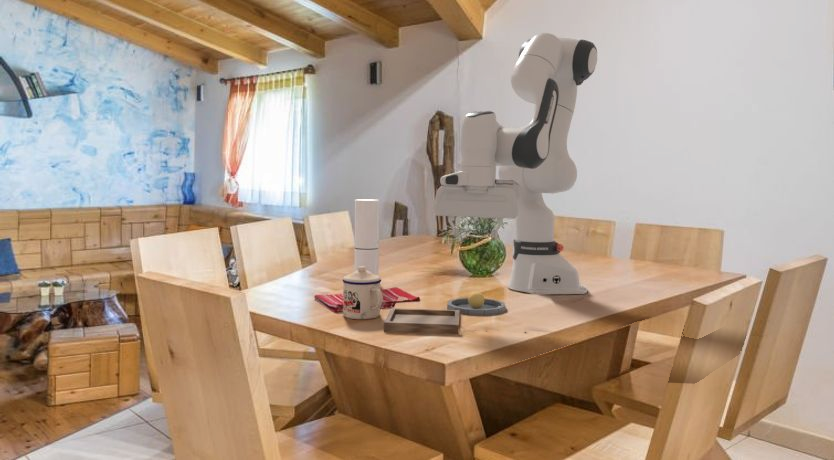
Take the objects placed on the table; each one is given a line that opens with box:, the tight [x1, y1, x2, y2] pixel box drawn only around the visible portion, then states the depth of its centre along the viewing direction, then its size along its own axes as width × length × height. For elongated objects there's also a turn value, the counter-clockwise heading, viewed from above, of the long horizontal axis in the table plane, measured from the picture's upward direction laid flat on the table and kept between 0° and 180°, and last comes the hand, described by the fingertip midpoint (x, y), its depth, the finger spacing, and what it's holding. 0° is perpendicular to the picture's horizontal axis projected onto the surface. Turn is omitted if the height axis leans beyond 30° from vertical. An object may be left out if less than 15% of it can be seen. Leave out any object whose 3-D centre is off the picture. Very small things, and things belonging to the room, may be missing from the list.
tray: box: [383, 307, 460, 335], centre depth 147 cm, size 16×14×2 cm
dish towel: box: [313, 286, 421, 313], centre depth 170 cm, size 17×24×3 cm
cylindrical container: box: [353, 198, 380, 276], centre depth 193 cm, size 7×7×25 cm
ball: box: [467, 291, 485, 308], centre depth 159 cm, size 4×4×4 cm
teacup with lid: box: [342, 266, 383, 320], centre depth 153 cm, size 12×9×12 cm
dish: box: [446, 296, 507, 316], centre depth 160 cm, size 14×14×2 cm
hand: (474, 236), depth 158 cm, fingers open, 8 cm apart
